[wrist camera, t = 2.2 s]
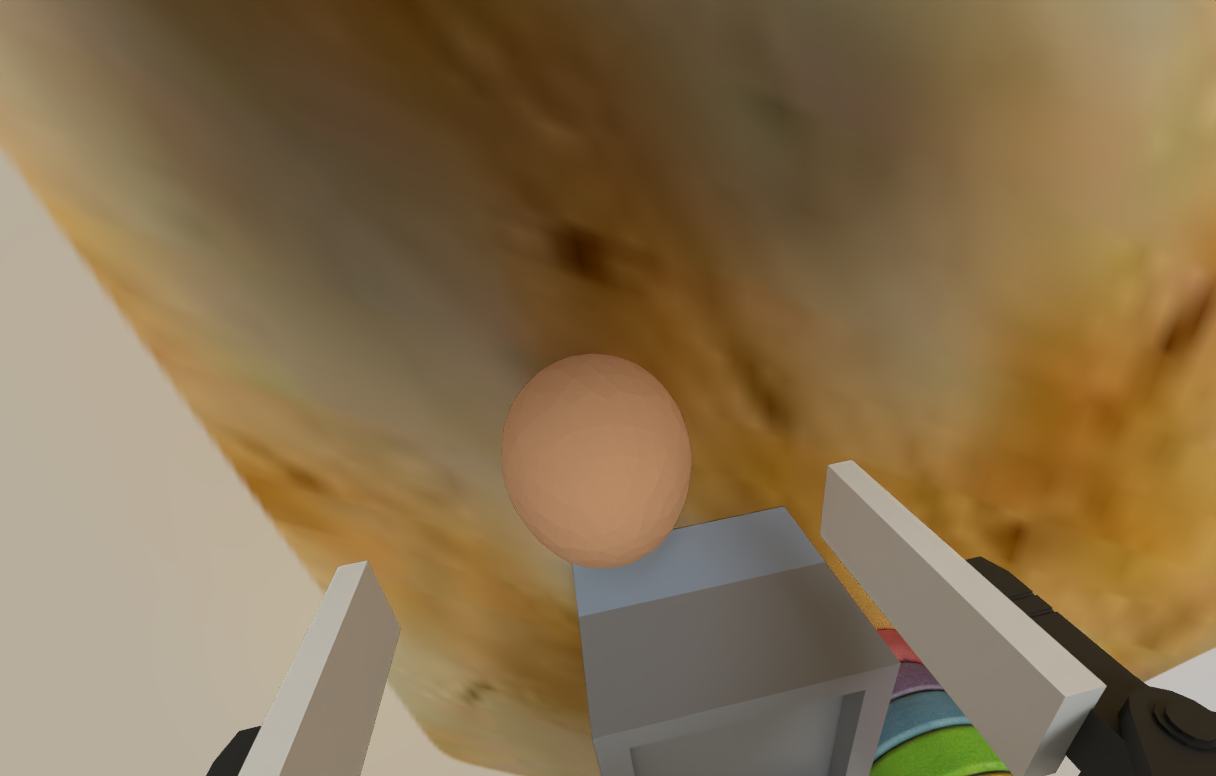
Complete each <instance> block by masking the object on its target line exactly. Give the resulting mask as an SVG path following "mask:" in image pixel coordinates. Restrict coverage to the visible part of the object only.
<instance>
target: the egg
mask: <svg viewBox="0 0 1216 776" xmlns="http://www.w3.org/2000/svg"><path fill="white" fill-rule="evenodd" d="M691 466H692V456H691V449H690V443H689V436H688V432H687V429H686V426H685V423H684V420H683V418H682V415H681V413H680V411H679V409H678V407H677V405H676V403H675V401H674V400H673V399H672V397H671V396H670V394H669V393H668V392H667V390H666V389H665V387H664V386H663V385H662V384H661V383H660V382H659V381H658V380H657V379H656V378H655V377H654V376H653V375H652V374H651V373H650V372H648V371H647V370H645V369H643V368H642V367H640V366H639V365H637V364H635V363H633V362H630V361H628V360H625V359H622V358H620V357H617V356H613V355H604V354H595V353H590V354H582V355H575V356H570V357H567V358H564V359H561V360H559V361H557V362H555V363H553V364H551V365H550V366H548V367H546V368H544V369H542V370H541V371H539V372H538V373H537V374H536V375H535V376H534V377H533V378H532V379H531V380H530V381H529V382H528V383H527V384H526V385H525V386H524V388H523V389H522V390H521V391H520V393H519V394H518V396H517V397H516V399H515V401H514V402H513V404H512V406H511V408H510V410H509V413H508V416H507V419H506V422H505V425H504V431H503V440H502V470H503V476H504V480H505V484H506V488H507V491H508V494H509V496H510V499H511V501H512V504H513V506H514V508H515V510H516V511H517V513H518V514H519V516H520V517H521V519H522V520H523V521H524V523H525V524H526V526H527V527H528V528H529V530H530V531H531V532H532V533H533V534H534V536H535V537H536V538H537V539H538V540H539V541H540V542H541V543H542V544H544V545H545V546H546V547H547V548H549V549H550V550H551V551H553V552H554V553H555V554H556V555H558V556H560V557H562V558H563V559H565V560H567V561H569V562H570V563H574V564H577V565H580V566H584V567H587V568H601V569H609V568H614V567H619V566H624V565H630V564H632V563H634V562H636V561H637V560H639V559H641V558H642V557H644V556H646V555H647V554H649V553H651V552H652V551H654V550H655V549H657V548H658V546H659V545H660V544H661V543H662V542H663V541H664V540H665V538H666V537H667V536H668V535H669V534H670V533H671V532H672V530H673V528H674V526H675V524H676V522H677V520H678V518H679V516H680V514H681V512H682V510H683V507H684V504H685V501H686V497H687V494H688V489H689V481H690V474H691Z"/></svg>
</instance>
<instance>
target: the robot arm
mask: <svg viewBox="0 0 1216 776" xmlns="http://www.w3.org/2000/svg"><path fill="white" fill-rule="evenodd" d="M820 536H821V537H822V538H823V540H824V541H825V542H826V543H827V545H828V546H829V547H830V548H831V550H832V551H833V552H834V553H835V555H836V556H837V557H838V558H839V560H840V561H841V562H842V563H843V564H844V566H845V567H846V568H847V569H848V571H849V572H850V573H851V574H852V576H853V577H854V578H855V579H856V581H857V582H858V583H859V584H860V586H861V587H862V588H863V589H864V591H865V592H866V593H867V594H868V596H869V597H870V598H871V599H872V600H873V602H874V603H875V604H876V605H877V607H878V608H879V609H880V610H881V612H882V613H883V614H884V615H885V617H886V618H887V619H888V620H889V622H890V623H891V624H892V625H893V627H894V628H895V629H896V630H897V632H898V633H899V634H900V635H901V636H902V638H903V639H904V640H905V641H906V643H907V644H908V645H909V646H910V648H911V649H912V650H913V651H914V653H915V654H916V655H917V656H918V658H919V659H920V660H921V661H922V663H923V664H924V665H925V666H926V668H927V669H928V670H929V671H930V672H931V674H932V675H933V676H934V677H935V679H936V680H937V681H938V682H939V684H940V685H941V686H942V687H943V689H944V690H945V691H946V692H947V694H948V695H949V696H950V697H951V699H952V700H953V701H954V702H955V704H956V705H957V706H958V707H959V708H960V710H961V711H962V712H963V713H964V715H965V716H966V717H967V718H968V720H969V721H970V722H971V723H972V725H973V726H974V727H975V728H976V730H977V731H978V732H979V733H980V735H981V736H982V737H983V738H984V740H985V741H986V742H987V743H988V744H989V746H990V747H991V748H992V749H993V751H994V752H995V753H996V754H997V756H998V757H999V758H1000V759H1001V761H1002V762H1003V763H1004V764H1005V766H1006V767H1007V768H1008V769H1009V771H1010V772H1011V773H1012V774H1013V776H1046V775H1049V774H1053V773H1056V771H1057V769H1058V768H1059V766H1060V764H1061V763H1062V761H1063V759H1064V757H1065V756H1067V757H1068V758H1069V759H1070V760H1071V761H1072V762H1073V763H1074V764H1075V766H1076V767H1077V768H1078V769H1079V770H1080V771H1081V772H1080V774H1079V775H1078V776H1216V712H1212V711H1210V710H1208V709H1207V708H1205V707H1203V706H1202V705H1200V704H1198V703H1197V702H1195V701H1194V700H1191V699H1189V698H1187V697H1184V696H1182V695H1180V694H1177V693H1175V692H1173V691H1169V690H1164V689H1159V688H1155V687H1150V686H1148V685H1146V684H1145V683H1144V682H1142V681H1141V680H1140V679H1138V678H1137V677H1135V676H1134V675H1133V674H1132V673H1130V672H1129V671H1128V670H1127V669H1126V668H1124V667H1123V666H1122V665H1121V664H1120V663H1118V662H1117V661H1116V660H1115V659H1113V658H1112V657H1111V656H1110V655H1109V654H1107V653H1106V652H1105V651H1104V650H1103V649H1101V648H1100V647H1099V646H1098V645H1097V644H1095V643H1094V642H1093V641H1092V640H1091V639H1089V638H1088V637H1087V636H1086V635H1085V634H1083V633H1082V632H1081V631H1080V630H1079V629H1077V628H1076V627H1075V626H1074V625H1073V624H1071V623H1070V622H1069V621H1068V620H1066V619H1065V618H1064V617H1063V616H1062V615H1060V614H1059V613H1058V612H1054V611H1053V610H1052V607H1051V606H1050V605H1048V604H1047V603H1046V602H1045V601H1044V600H1042V599H1041V598H1040V597H1039V596H1038V595H1036V596H1035V595H1034V594H1033V593H1032V590H1030V589H1029V588H1028V587H1027V586H1026V585H1024V584H1023V583H1022V582H1021V581H1019V580H1018V579H1017V578H1016V577H1015V576H1013V575H1012V574H1011V573H1010V572H1009V571H1007V570H1005V569H1003V568H1001V567H999V566H997V565H996V564H994V563H992V562H990V561H988V560H986V559H984V558H982V557H976V558H972V559H967V560H964V559H963V558H962V557H961V556H960V555H959V554H958V553H956V552H955V551H954V550H953V549H952V548H951V547H950V546H949V545H947V544H946V543H945V542H944V541H943V540H942V539H941V538H939V537H938V536H937V535H936V534H935V533H934V532H933V531H932V530H930V529H929V528H928V527H927V526H926V525H925V524H924V523H923V522H921V521H920V520H919V519H918V518H917V517H916V516H915V515H914V514H912V513H911V512H910V511H909V510H908V509H907V508H906V507H905V506H903V505H902V504H901V503H900V502H899V501H898V500H897V499H895V498H894V497H893V496H892V495H891V494H890V493H889V492H888V491H886V490H885V489H884V488H883V487H882V486H881V485H880V484H879V483H877V482H876V481H875V480H874V479H873V478H872V477H871V476H870V475H868V474H867V473H866V472H865V471H864V470H863V469H862V468H861V467H859V466H858V465H857V464H856V463H855V462H854V461H853V460H849V461H844V462H839V463H834V464H830V465H827V474H826V484H825V493H824V502H823V512H822V521H821V531H820ZM400 630H401V627H400V625H399V623H398V621H397V619H396V617H395V615H394V613H393V611H392V609H391V607H390V605H389V603H388V601H387V599H386V597H385V595H384V593H383V591H382V589H381V586H380V584H379V582H378V580H377V578H376V576H375V574H374V572H373V570H372V568H371V566H370V564H369V562H368V560H367V561H363V562H358V563H353V564H348V565H343V566H339V567H338V568H337V570H336V572H335V574H334V576H333V578H332V581H331V583H330V585H329V587H328V589H327V591H326V593H325V595H324V597H323V599H322V602H321V604H320V606H319V608H318V610H317V612H316V614H315V616H314V618H313V620H312V622H311V624H310V626H309V629H308V631H307V633H306V635H305V637H304V639H303V641H302V643H301V645H300V647H299V649H298V651H297V654H296V656H295V658H294V660H293V662H292V664H291V666H290V668H289V670H288V673H287V674H286V676H285V679H284V681H283V683H282V685H281V687H280V689H279V691H278V693H277V695H276V697H275V699H274V701H273V704H272V706H271V708H270V710H269V712H268V714H267V716H266V718H265V720H264V722H263V724H262V726H258V727H254V728H250V729H246V730H242V731H239V732H238V733H237V734H236V736H235V737H234V738H233V739H232V740H231V742H230V743H229V744H228V745H227V747H226V748H225V749H224V750H223V751H222V752H221V754H220V755H219V756H218V757H217V759H216V760H215V761H214V762H213V764H212V766H211V768H210V770H209V771H208V773H207V775H206V776H360V774H361V770H362V767H363V764H364V760H365V756H366V752H367V749H368V745H369V742H370V738H371V734H372V731H373V727H374V724H375V720H376V717H377V713H378V709H379V706H380V702H381V699H382V695H383V691H384V688H385V684H386V681H387V677H388V673H389V670H390V666H391V663H392V659H393V655H394V652H395V648H396V644H397V641H398V637H399V634H400Z"/></svg>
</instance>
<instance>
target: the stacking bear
mask: <svg viewBox="0 0 1216 776" xmlns="http://www.w3.org/2000/svg"><path fill="white" fill-rule="evenodd" d="M876 631H877V632H878V633H879V635H880V636H881V637H882V639H883V640H884V641H885V643H886V644H887V645H888V647H889V648H890V649H891V651H892V652H893V653H894V655H895V656H896V658H897V659H898V660H899V662H900V663H901V664H900V667H899V671H898V674H897V678H896V682H895V685H894V689H893V692H892V696H891V699H890V703H889V707H888V710H887V714H886V717H885V721H884V724H883V728H882V732H881V735H880V739H879V742H878V746H877V749H876V753H875V757H874V760H873V764H872V767H871V771H870V774H869V776H1013V774H1012V773H1011V772H1010V771H1009V769H1008V768H1007V767H1006V766H1005V764H1004V763H1003V762H1002V761H1001V759H1000V758H999V757H998V756H997V754H996V753H995V752H994V751H993V749H992V748H991V747H990V746H989V744H988V743H987V742H986V741H985V740H984V738H983V737H982V736H981V735H980V733H979V732H978V731H977V730H976V728H975V727H974V726H973V725H972V723H971V722H970V721H969V720H968V718H967V717H966V716H965V715H964V713H963V712H962V711H961V710H960V708H959V707H958V706H957V705H956V704H955V702H954V701H953V700H952V699H951V697H950V696H949V695H948V694H947V692H946V691H945V690H944V689H943V687H942V686H941V685H940V684H939V682H938V681H937V680H936V679H935V677H934V676H933V675H932V674H931V672H930V671H929V670H928V669H927V668H926V666H925V665H924V664H923V663H922V661H921V660H920V659H919V658H918V656H917V655H916V654H915V653H914V651H913V650H912V649H911V648H910V646H909V645H908V644H907V643H906V641H905V640H904V639H903V638H902V636H901V635H900V634H899V633H898V632H897V630H894V629H884V630H876Z"/></svg>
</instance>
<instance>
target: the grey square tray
mask: <svg viewBox="0 0 1216 776" xmlns="http://www.w3.org/2000/svg"><path fill="white" fill-rule="evenodd" d="M573 572H574V581H575V590H576V599H577V608H578V617H579V626H580V635H581V644H582V653H583V662H584V671H585V680H586V689H587V698H588V707H589V716H590V725H591V734H592V741H593V745H594V749H595V753H596V756H597V760H598V764H599V768H600V772H601V776H869V774H870V771H871V767H872V764H873V760H874V757H875V753H876V749H877V746H878V742H879V739H880V735H881V732H882V728H883V724H884V721H885V717H886V714H887V710H888V707H889V703H890V699H891V696H892V692H893V689H894V685H895V682H896V678H897V674H898V671H899V667H900V664H901V663H900V662H899V660H898V659H897V658H896V656H895V655H894V653H893V652H892V651H891V649H890V648H889V647H888V645H887V644H886V643H885V641H884V640H883V639H882V637H881V636H880V635H879V633H878V632H877V631H876V629H875V628H874V627H873V625H872V624H871V623H870V621H869V620H868V619H867V617H866V616H865V614H864V613H863V612H862V610H861V609H860V608H859V606H858V605H857V604H856V602H855V601H854V600H853V598H852V597H851V596H850V594H849V593H848V592H847V590H846V589H845V588H844V586H843V585H842V584H841V582H840V581H839V580H838V578H837V577H836V575H835V574H834V573H833V571H832V570H831V569H830V567H829V566H828V565H827V563H826V562H825V561H824V559H823V558H822V557H821V555H820V554H819V553H818V551H817V550H816V549H815V547H814V546H813V545H812V543H811V542H810V541H809V539H808V538H807V536H806V535H805V534H804V532H803V531H802V530H801V528H800V527H799V526H798V524H797V523H796V522H795V520H794V519H793V518H792V516H791V515H790V514H789V512H788V511H787V510H786V508H785V507H784V506H783V507H779V508H774V509H769V510H764V511H760V512H755V513H750V514H745V515H741V516H736V517H731V518H726V519H722V520H717V521H712V522H707V523H703V524H698V525H693V526H688V527H684V528H679V529H674V530H672V532H671V533H670V534H669V535H668V536H667V537H666V538H665V540H664V541H663V542H662V543H661V544H660V545H659V546H658V548H657V549H655V550H654V551H652V552H651V553H649V554H647V555H646V556H644V557H642V558H641V559H639V560H637V561H636V562H634V563H632V564H630V565H624V566H619V567H614V568H609V569H601V568H587V567H584V566H580V565H577V564H574V563H573Z"/></svg>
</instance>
